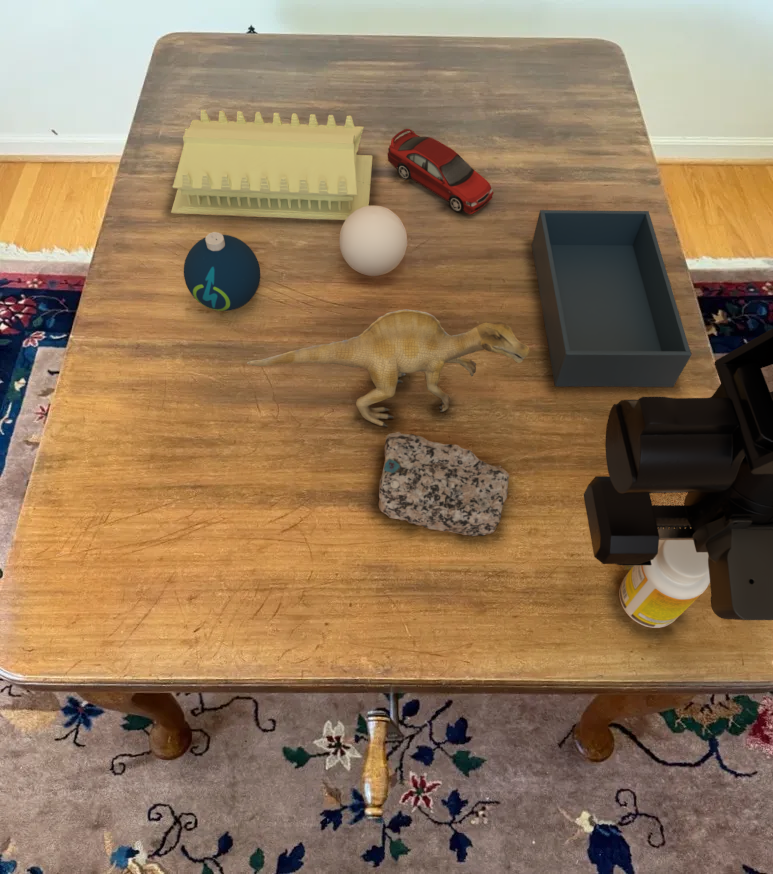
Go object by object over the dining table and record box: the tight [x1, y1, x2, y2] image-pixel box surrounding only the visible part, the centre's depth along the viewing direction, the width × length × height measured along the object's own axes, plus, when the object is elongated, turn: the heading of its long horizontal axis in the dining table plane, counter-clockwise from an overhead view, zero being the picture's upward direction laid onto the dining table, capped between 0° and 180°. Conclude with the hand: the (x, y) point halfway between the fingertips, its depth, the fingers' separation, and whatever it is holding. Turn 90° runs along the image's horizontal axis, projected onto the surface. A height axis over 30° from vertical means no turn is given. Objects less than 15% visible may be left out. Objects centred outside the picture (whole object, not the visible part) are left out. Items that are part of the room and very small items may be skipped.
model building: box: [170, 109, 373, 221], centre depth 95 cm, size 25×14×7 cm, turn 88°
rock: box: [378, 431, 510, 537], centre depth 71 cm, size 13×9×4 cm
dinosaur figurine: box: [246, 308, 530, 428], centre depth 74 cm, size 8×26×13 cm, turn 97°
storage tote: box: [531, 209, 692, 388], centre depth 85 cm, size 22×13×6 cm, turn 1°
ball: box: [338, 205, 408, 277], centre depth 87 cm, size 8×8×8 cm
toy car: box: [387, 128, 495, 215], centre depth 96 cm, size 6×15×5 cm, turn 44°
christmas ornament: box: [183, 231, 261, 312], centre depth 83 cm, size 8×8×10 cm
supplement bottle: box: [618, 540, 710, 629], centre depth 63 cm, size 6×6×10 cm
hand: (680, 564), depth 61 cm, fingers open, 9 cm apart
